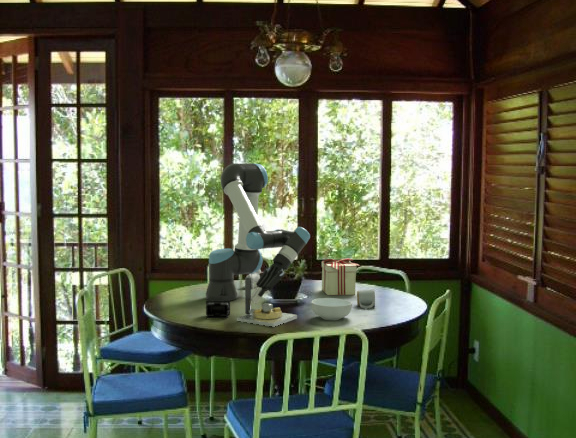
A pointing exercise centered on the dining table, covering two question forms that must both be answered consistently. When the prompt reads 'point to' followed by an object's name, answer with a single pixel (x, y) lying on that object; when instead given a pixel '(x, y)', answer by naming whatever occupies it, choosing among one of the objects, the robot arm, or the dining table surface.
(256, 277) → the dog figurine
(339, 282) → the gift box
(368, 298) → the ceramic mug
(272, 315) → the gold and grey piece
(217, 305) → the end cap
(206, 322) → the dining table surface
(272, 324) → the housing
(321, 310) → the cereal bowl
